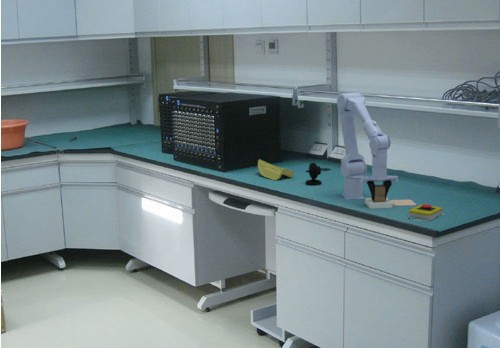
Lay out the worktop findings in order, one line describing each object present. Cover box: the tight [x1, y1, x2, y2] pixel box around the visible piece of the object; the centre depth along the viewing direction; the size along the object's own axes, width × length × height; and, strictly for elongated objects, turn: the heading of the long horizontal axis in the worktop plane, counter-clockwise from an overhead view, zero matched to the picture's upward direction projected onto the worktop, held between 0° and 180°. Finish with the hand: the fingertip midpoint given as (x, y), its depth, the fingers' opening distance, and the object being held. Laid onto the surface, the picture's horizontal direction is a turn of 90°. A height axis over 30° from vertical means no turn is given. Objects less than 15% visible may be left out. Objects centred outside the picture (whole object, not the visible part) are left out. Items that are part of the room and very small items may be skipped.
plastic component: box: [257, 159, 295, 181], centre depth 334 cm, size 20×7×10 cm
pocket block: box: [364, 197, 394, 209], centre depth 273 cm, size 9×9×2 cm
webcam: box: [305, 162, 323, 186], centre depth 315 cm, size 8×8×10 cm
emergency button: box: [407, 204, 445, 222], centre depth 257 cm, size 9×4×15 cm
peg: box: [373, 184, 385, 202], centre depth 272 cm, size 4×4×8 cm
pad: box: [389, 199, 417, 207], centre depth 276 cm, size 9×9×1 cm
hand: (378, 199), depth 272 cm, fingers closed on peg, 4 cm apart
